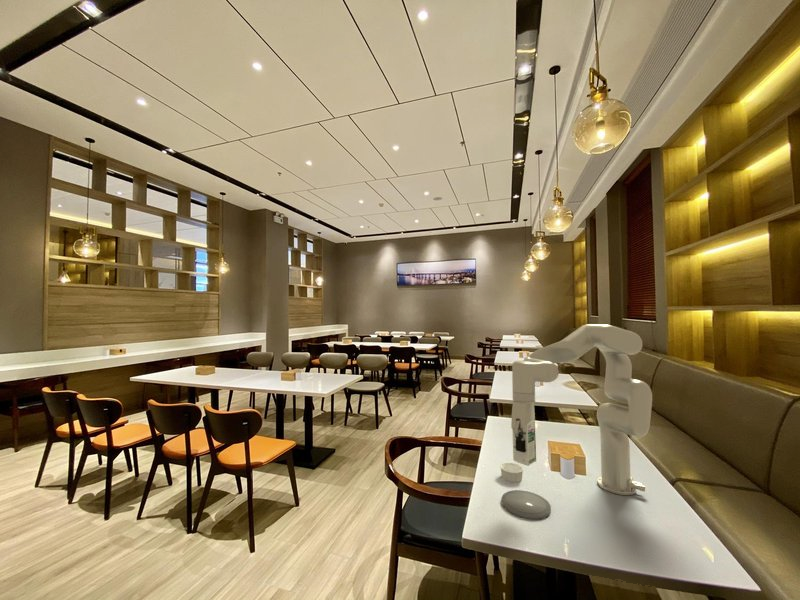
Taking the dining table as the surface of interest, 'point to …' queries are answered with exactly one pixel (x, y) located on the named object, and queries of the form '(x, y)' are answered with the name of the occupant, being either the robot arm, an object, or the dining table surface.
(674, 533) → the dining table surface
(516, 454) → the syrup box
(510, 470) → the ramekin
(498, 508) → the dining table surface
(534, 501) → the grey plate
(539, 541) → the dining table surface
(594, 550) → the dining table surface
